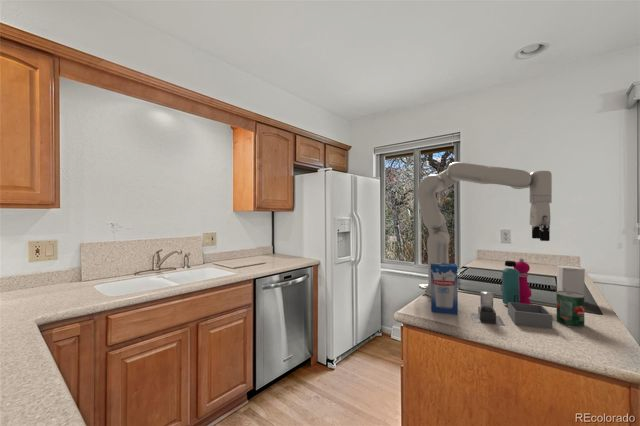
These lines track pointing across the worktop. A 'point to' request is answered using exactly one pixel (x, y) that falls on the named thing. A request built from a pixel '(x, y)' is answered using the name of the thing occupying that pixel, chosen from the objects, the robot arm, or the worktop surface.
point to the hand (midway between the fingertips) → (540, 239)
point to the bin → (529, 315)
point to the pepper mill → (523, 281)
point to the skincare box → (570, 279)
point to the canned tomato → (570, 309)
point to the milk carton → (444, 288)
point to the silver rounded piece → (486, 307)
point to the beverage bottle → (510, 283)
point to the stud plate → (498, 321)
